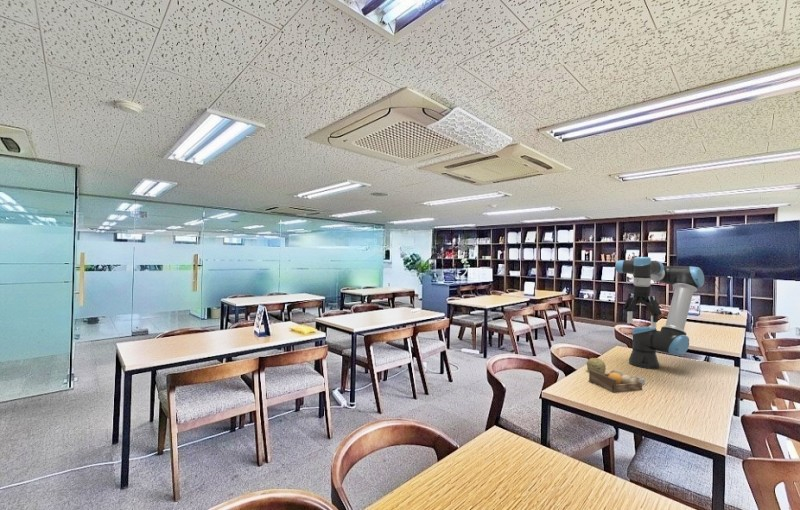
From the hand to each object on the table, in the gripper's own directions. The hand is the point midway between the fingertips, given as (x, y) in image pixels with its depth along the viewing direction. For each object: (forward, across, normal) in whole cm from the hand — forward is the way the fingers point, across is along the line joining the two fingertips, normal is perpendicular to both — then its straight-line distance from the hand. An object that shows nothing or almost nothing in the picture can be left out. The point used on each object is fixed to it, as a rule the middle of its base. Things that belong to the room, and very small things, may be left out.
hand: (641, 325), depth 185 cm
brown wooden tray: (+29, +4, -21) cm, 36 cm away
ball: (+25, +4, -21) cm, 33 cm away
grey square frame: (+29, +4, -6) cm, 30 cm away
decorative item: (+29, -15, -14) cm, 36 cm away
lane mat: (+29, +4, -21) cm, 36 cm away
